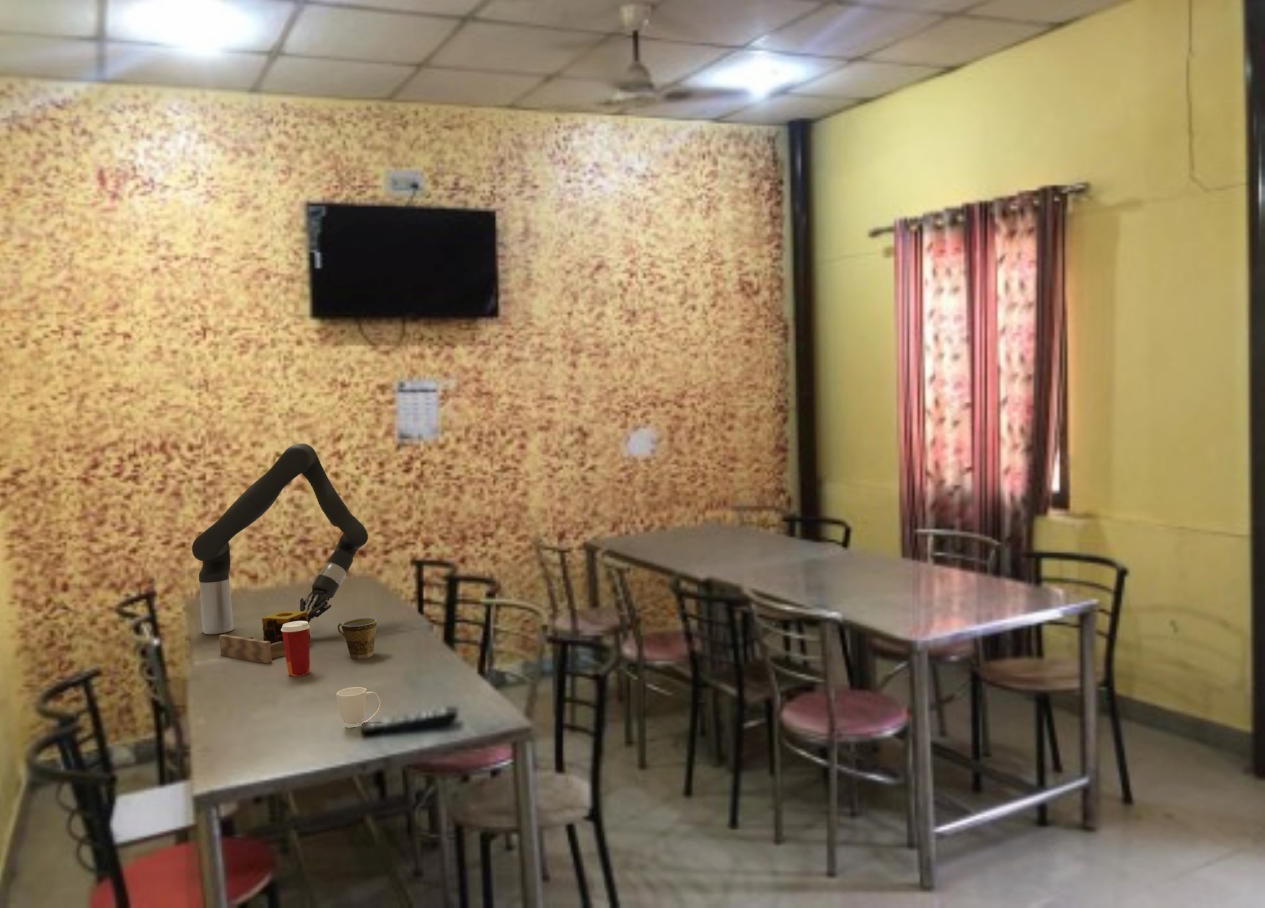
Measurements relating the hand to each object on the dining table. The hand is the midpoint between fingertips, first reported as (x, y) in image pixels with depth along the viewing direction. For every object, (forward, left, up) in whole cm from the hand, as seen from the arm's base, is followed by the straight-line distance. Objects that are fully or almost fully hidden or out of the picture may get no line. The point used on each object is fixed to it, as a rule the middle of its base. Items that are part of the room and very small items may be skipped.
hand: (301, 626), depth 322 cm
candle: (0, -6, -5) cm, 8 cm away
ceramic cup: (+30, -4, -5) cm, 31 cm away
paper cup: (+29, -24, -5) cm, 38 cm away
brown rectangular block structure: (0, -16, -5) cm, 17 cm away
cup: (+79, -46, -5) cm, 92 cm away
